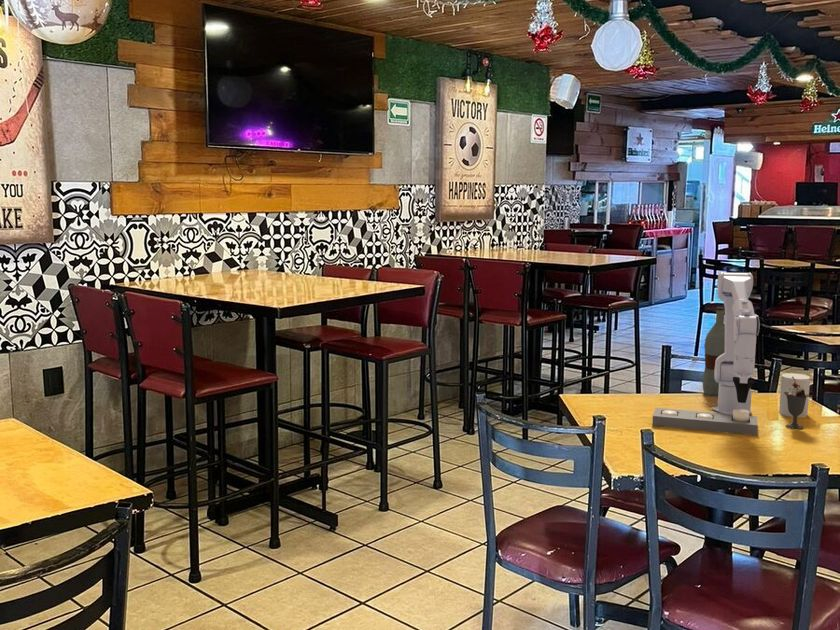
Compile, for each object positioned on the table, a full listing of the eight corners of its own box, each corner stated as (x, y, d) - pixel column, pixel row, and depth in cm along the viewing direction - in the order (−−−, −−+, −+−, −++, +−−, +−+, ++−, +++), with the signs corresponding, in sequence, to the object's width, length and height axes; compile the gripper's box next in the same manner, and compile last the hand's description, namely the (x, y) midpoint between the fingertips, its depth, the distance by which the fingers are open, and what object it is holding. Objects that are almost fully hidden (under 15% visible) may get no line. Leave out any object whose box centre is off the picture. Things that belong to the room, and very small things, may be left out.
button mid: (696, 422, 250) (697, 413, 250) (712, 424, 249) (712, 414, 248) (696, 426, 246) (696, 416, 246) (711, 428, 245) (712, 418, 244)
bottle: (735, 396, 283) (740, 308, 278) (710, 397, 281) (715, 309, 277) (721, 389, 292) (725, 305, 288) (696, 390, 291) (701, 305, 286)
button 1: (662, 419, 254) (662, 409, 253) (677, 420, 252) (677, 411, 252) (661, 423, 250) (661, 413, 249) (676, 424, 248) (676, 414, 248)
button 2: (732, 418, 246) (733, 408, 246) (748, 419, 245) (749, 409, 244) (732, 422, 242) (733, 412, 242) (748, 423, 241) (749, 413, 240)
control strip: (655, 417, 257) (655, 407, 257) (756, 426, 247) (756, 416, 247) (652, 425, 248) (652, 415, 247) (757, 435, 238) (757, 425, 237)
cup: (794, 409, 266) (796, 372, 264) (813, 415, 258) (816, 378, 257) (773, 411, 264) (775, 374, 262) (792, 418, 256) (794, 380, 254)
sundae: (784, 422, 251) (788, 374, 248) (808, 426, 247) (812, 377, 245) (779, 428, 245) (783, 378, 243) (804, 431, 241) (807, 381, 239)
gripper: (729, 351, 249) (727, 395, 251) (729, 360, 235) (727, 407, 237) (755, 352, 246) (752, 397, 248) (756, 362, 233) (753, 409, 235)
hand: (741, 402), depth 243 cm, fingers closed
